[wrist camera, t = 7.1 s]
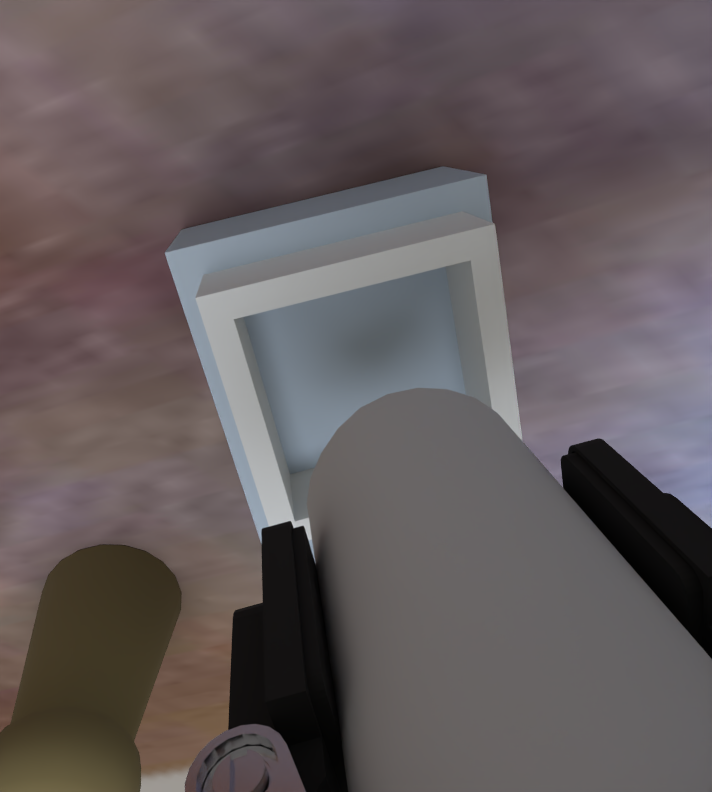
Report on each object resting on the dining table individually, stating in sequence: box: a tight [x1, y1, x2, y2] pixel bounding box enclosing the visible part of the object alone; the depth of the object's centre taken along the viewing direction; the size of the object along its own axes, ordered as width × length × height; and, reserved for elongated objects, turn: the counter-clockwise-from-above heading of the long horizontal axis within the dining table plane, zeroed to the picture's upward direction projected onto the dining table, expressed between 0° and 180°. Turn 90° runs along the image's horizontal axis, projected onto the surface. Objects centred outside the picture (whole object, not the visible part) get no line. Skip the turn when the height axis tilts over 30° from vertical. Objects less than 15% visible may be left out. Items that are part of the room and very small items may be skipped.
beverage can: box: [307, 388, 712, 792], centre depth 9 cm, size 5×5×12 cm
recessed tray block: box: [165, 166, 522, 561], centre depth 24 cm, size 19×10×8 cm, turn 12°
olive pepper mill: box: [0, 545, 181, 792], centre depth 25 cm, size 6×6×11 cm
